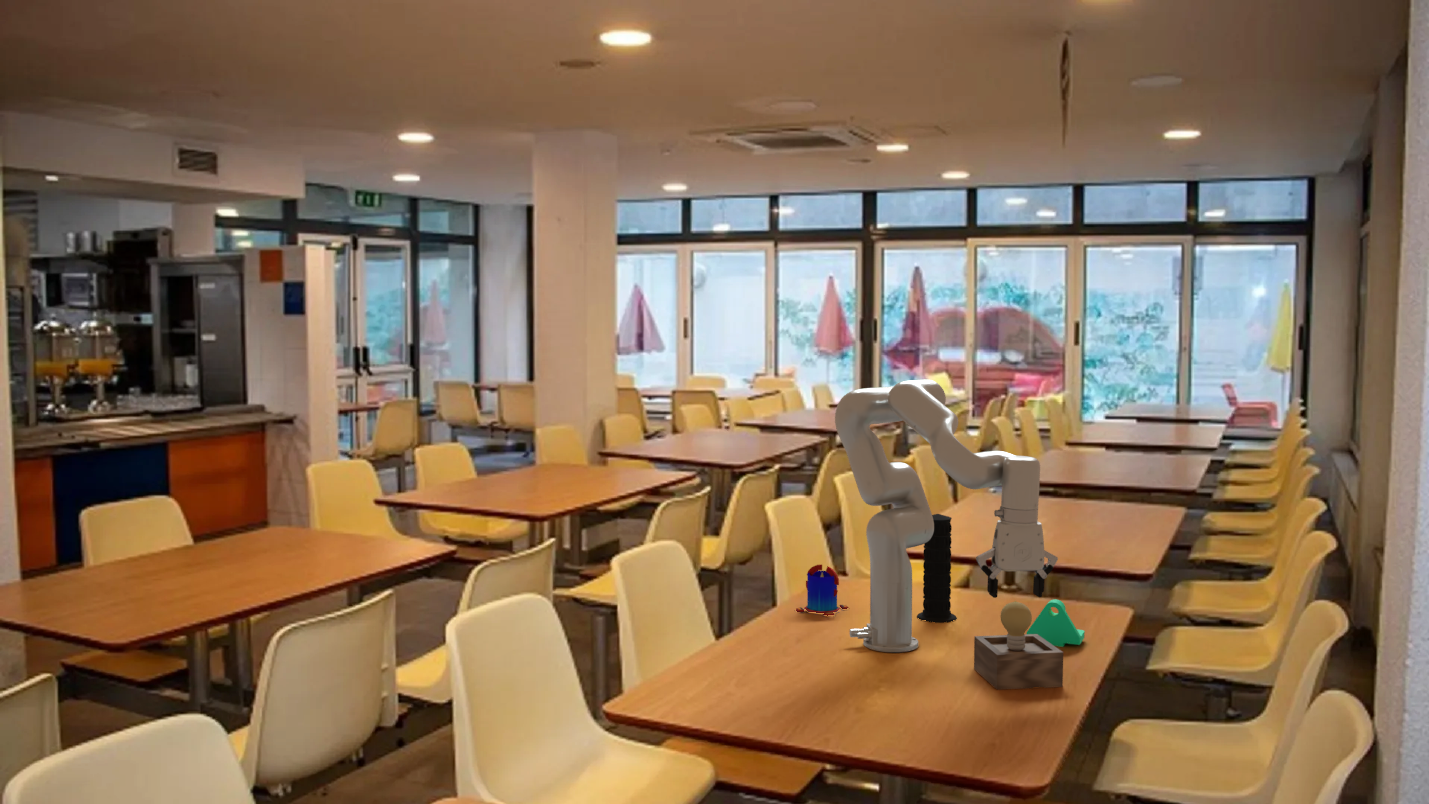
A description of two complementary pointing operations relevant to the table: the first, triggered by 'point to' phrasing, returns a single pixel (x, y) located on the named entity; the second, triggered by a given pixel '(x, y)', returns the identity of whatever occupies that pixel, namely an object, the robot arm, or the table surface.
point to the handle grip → (937, 573)
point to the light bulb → (1016, 624)
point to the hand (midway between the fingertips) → (1015, 595)
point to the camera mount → (1056, 626)
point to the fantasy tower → (822, 591)
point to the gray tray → (1018, 662)
